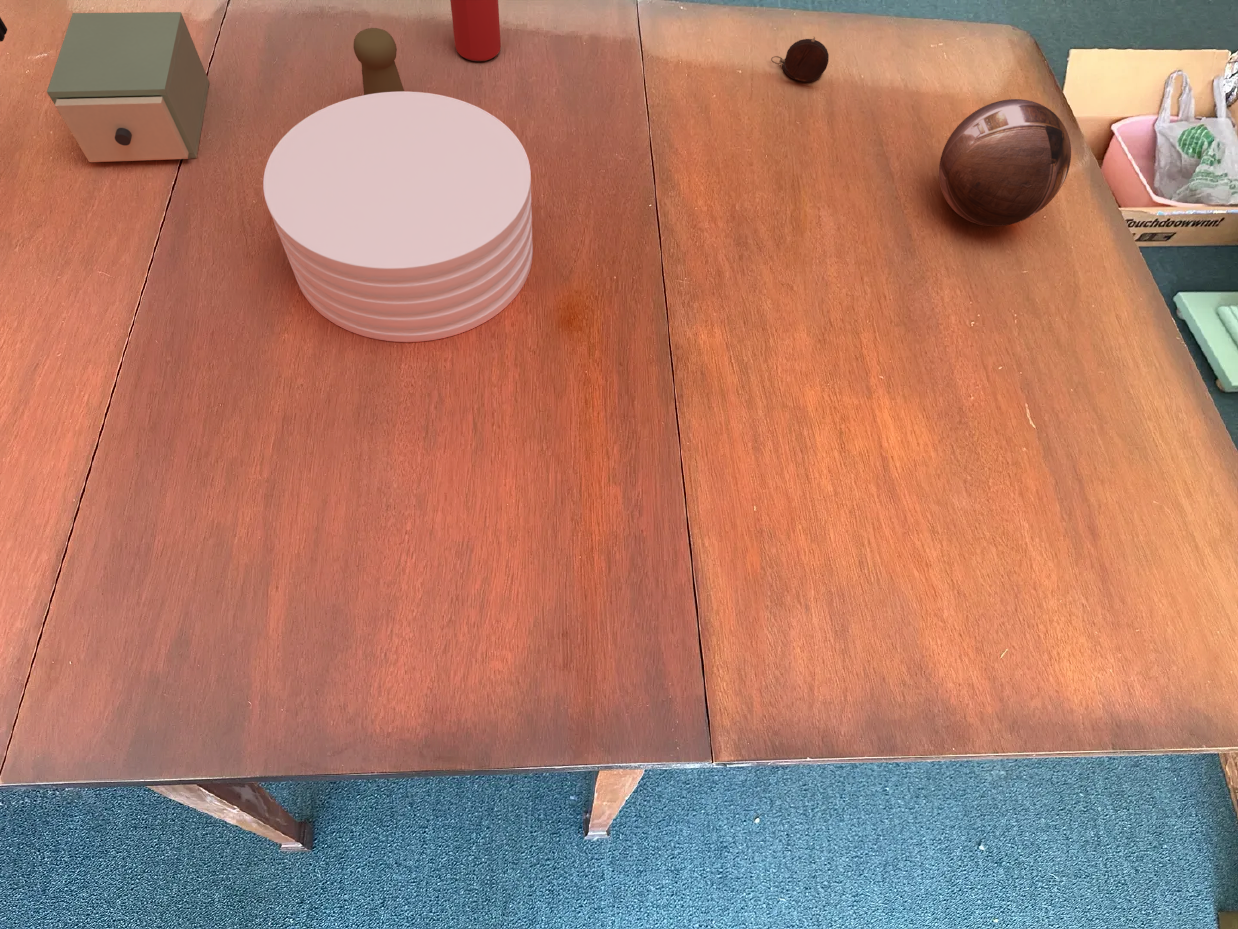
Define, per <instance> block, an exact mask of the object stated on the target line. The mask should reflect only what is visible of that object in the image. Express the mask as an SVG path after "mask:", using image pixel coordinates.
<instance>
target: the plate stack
mask: <svg viewBox="0 0 1238 929" xmlns="http://www.w3.org/2000/svg"><path fill="white" fill-rule="evenodd" d="M264 168H265V169H264V172H263V179H262V180H263V182H262V185H263V186H262V187H263V196H264V201H265V203H266V206H267V209H268V211H269V214H270V216H271V219H272V221H273V224H274V227H275V229H276V231H277V234H278V237H279V239H280V242H281V244H282V247H283V249H284V252H285V254H286V256H287V260H288V262H289V264H290V267H291V270H292V271H293V272H292V273H293V274H294V277H295V280H296V282H297V285H298V287H299V289H300V292H301V293H302V294H303V297H305V300H307V302H308V303H309V304H310V306H311V307H312V308H314V309H315V311H316V312H318V314H320V315H321V316H322V317H324V318H325V319H326V320H328V321H329V322H331V323H332V324H334V325H336V326H337V327H340V328H342V329H344V330H346V331H348V332H351V333H352V334H356V335H359V336H362V337H365V338H369V339H373V340H379V341H385V342H386V341H387V342H395V343H396V342H397V343H419V342H420V343H421V342H429V341H436V340H441V339H446V338H449V337H453V336H456V335H460V334H463V333H465V332H468V331H470V330H472V329H474V328H477V327H479V326H481V325H483V324H485V323H486V322H488V321H490V320H491V319H493V318H494V317H496V316H497V315H498V314H500V313H501V312H503V311H504V310H505V309H506V308H507V307H508V306H509V305H510V304H511V303H512V302H513V301H514V300H515V298H516V297H517V296H518V295H519V293H520V292H521V290H522V289H523V288H524V286H525V284H526V281H527V279H528V277H529V274H530V271H531V268H532V263H533V257H534V256H533V253H534V251H533V250H534V248H533V209H532V174H531V173H532V172H531V164H530V160H529V157H528V155H527V151H526V150H525V147H524V146H523V144H522V142H521V141H520V140H519V137H518V136H517V135H516V134H515V133H514V132H513V131H512V130H511V129H510V128H509V126H507V125H506V124H505V123H504V122H502V121H501V120H500V119H499V118H498V117H496V116H494V115H493V114H491V113H489V112H488V111H486V110H485V109H482V108H481V107H479V106H477V105H474V104H472V103H469V102H467V101H463V100H461V99H458V98H455V97H451V96H447V95H442V94H436V93H431V92H422V91H405V90H404V91H400V92H383V93H374V94H368V95H364V94H362V95H359V96H355V97H350V98H348V99H344V100H340V101H338V102H335V103H333V104H330V105H328V106H326V107H324V108H322V109H319V110H317V111H315V112H313V113H312V114H310V115H308V116H307V117H305V118H303V119H302V120H301V121H299V122H298V123H296V125H293V127H292V128H291V129H289V130H288V131H287V133H285V134H284V136H282V137H281V139H280V140H279V141H278V143H277V144H276V145H275V147H274V148H273V150H272V151H271V153H270V156H269V157H268V160H267V162H266V165H265V167H264Z"/></svg>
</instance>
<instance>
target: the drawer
mask: <svg viewBox="0 0 1238 929" xmlns="http://www.w3.org/2000/svg"><path fill="white" fill-rule="evenodd" d="M153 96H154V97H125V98H97V97H69V98H70V99H57V100H56V103H55V104H54V107H55V109H56V110H57V111H58V113H59V115H60V116H61V118H62V120H63V122H64V123H65V125H66V126H67V128H68V130H69V131H70V133H71V134H72V136H73V138H74V139H75V142H76V143H77V145H78V146H79V148H80V149H81V151H82V153H83V154H84V156H85V158H86V160H87V161H88V163H104V162H105V163H107V162H108V163H109V162H131V161H132V162H133V161H137V162H138V161H161V160H162V161H163V160H165V161H167V160H188V154H189V152H188V150H187V148H186V146H185V144H184V142H183V140H182V137H181V135H180V133H179V131H178V129H177V127H176V125H175V123H174V120H173V118H172V116H171V114H170V112H169V110H168V108H167V106H166V103H165V101H164V99H163V97H161V95H153Z"/></svg>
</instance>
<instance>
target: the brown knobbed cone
mask: <svg viewBox="0 0 1238 929" xmlns="http://www.w3.org/2000/svg"><path fill="white" fill-rule="evenodd" d="M397 49H398V48H397V44H396V42H395V39H394V37H393V36H392V34H391V33H389V31H387V30H385V29H382V28H378V27H368V28H365V29H362V30H361V31H359V32H357V33H356V35H355V37H354V39H353V51H354V54H355V57H356V59H357V60H358V62H359V63H360V64H361V76H362V87H363V88H362V89H363V95H368V94H374V93H383V92H400V91H405V88H404V85H403V83H402V79H401V76H400V73H399V69H398V68H397V64H396V61H395V60H396V59H397V52H398V50H397Z"/></svg>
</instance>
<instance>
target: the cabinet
mask: <svg viewBox="0 0 1238 929" xmlns="http://www.w3.org/2000/svg"><path fill="white" fill-rule="evenodd" d="M62 41H63V42H62V45H61V47H60V49H59V50H60V51H59V53H58V56H57V59H56V62H55V66H54V68H53V72H52V75H51V78H50V81H49V84H48V87H47V89H46V93H47V95H48V96H49V98H50V100H51V101H52V103H53V105H55V103H56V100H57V99H70V98H69V97H107V96H149V95H161V97H163V99H164V101H165V103H166V106H167V108H168V110H169V112H170V114H171V116H172V118H173V120H174V123H175V125H176V127H177V129H178V131H179V133H180V135H181V137H182V140H183V142H184V144H185V146H186V148H187V150H188V152H189V154H188V159H197V158H198V153H199V152H198V151H199V146H200V140H201V135H202V128H203V123H204V117H205V112H206V111H205V110H206V104H207V99H208V94H209V93H208V92H209V87H210V80H209V77H208V74H207V73H206V70H205V68H204V66H203V63H202V60H201V57H200V55H199V53H198V51H197V48H196V46H195V42H194V41H193V38H192V35H191V32H190V31H189V27H188V26H187V23H186V21H185V18H184V15H183V13H182V11H147V12H143V11H141V12H137V11H136V12H135V11H134V12H72V13H71V16H70V20H69V23H68V26H67V29H66V32H65V35H64V38H63V40H62ZM188 159H187V160H188Z"/></svg>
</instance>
